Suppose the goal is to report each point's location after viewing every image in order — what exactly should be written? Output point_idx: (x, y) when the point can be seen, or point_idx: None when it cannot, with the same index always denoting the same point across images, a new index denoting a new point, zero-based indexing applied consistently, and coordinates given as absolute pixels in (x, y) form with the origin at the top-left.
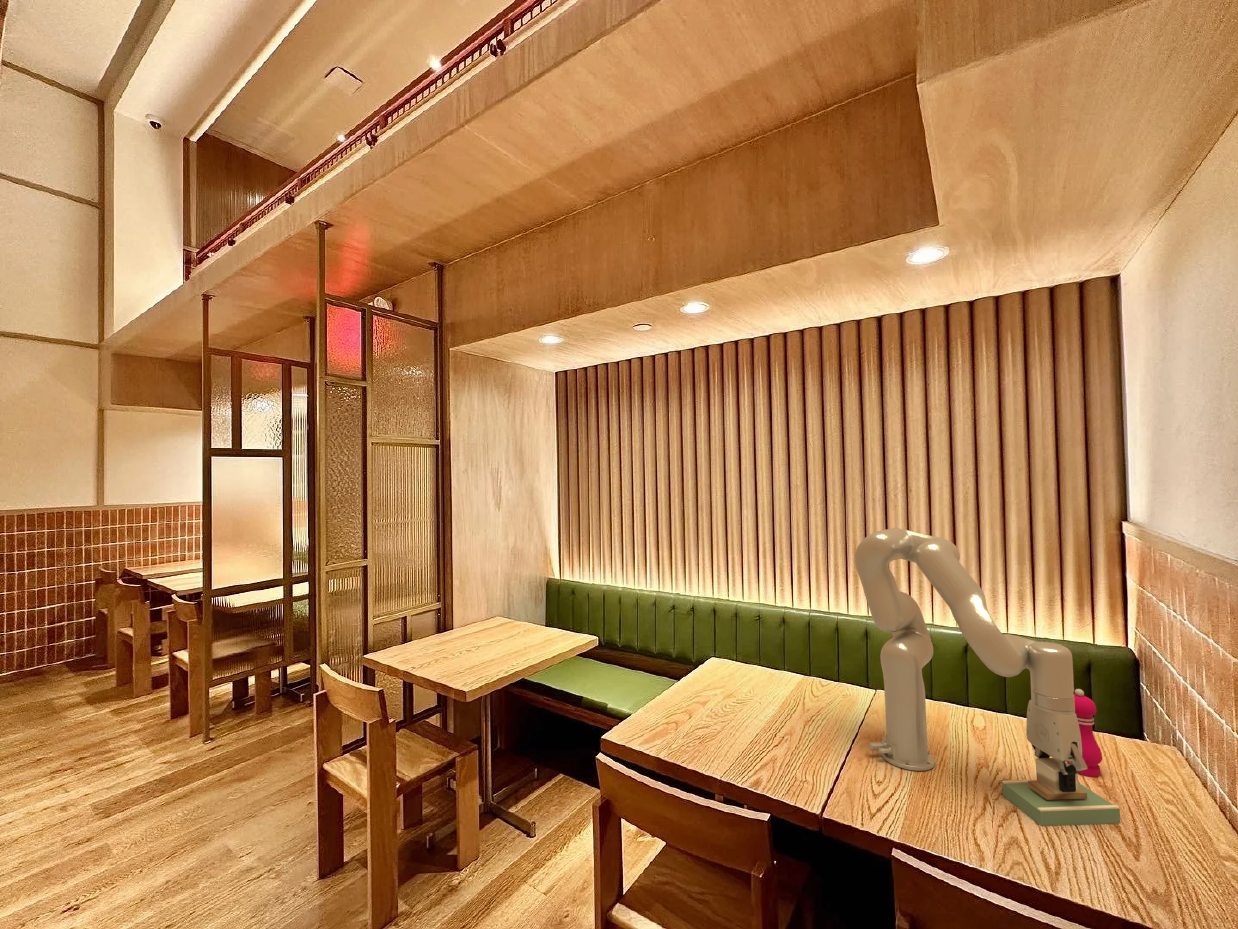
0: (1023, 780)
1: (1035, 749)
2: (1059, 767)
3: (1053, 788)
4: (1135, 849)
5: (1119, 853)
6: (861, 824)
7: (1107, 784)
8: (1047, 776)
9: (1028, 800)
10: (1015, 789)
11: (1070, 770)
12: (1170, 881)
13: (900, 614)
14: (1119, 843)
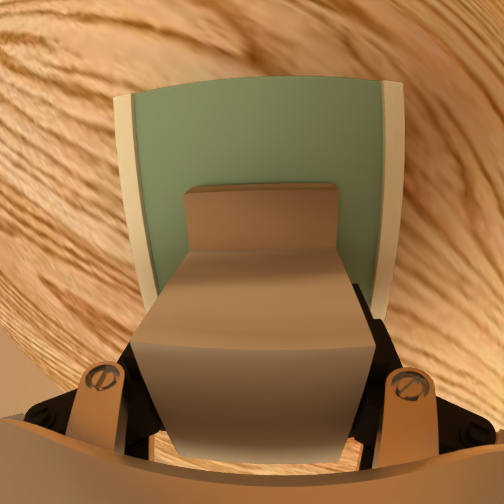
0: (397, 211)
1: (435, 419)
2: (189, 408)
3: (197, 261)
4: (78, 312)
5: (52, 258)
6: None
7: (360, 446)
8: (234, 289)
9: (207, 93)
10: (322, 97)
11: (59, 405)
12: (4, 282)
13: None
14: (91, 296)
